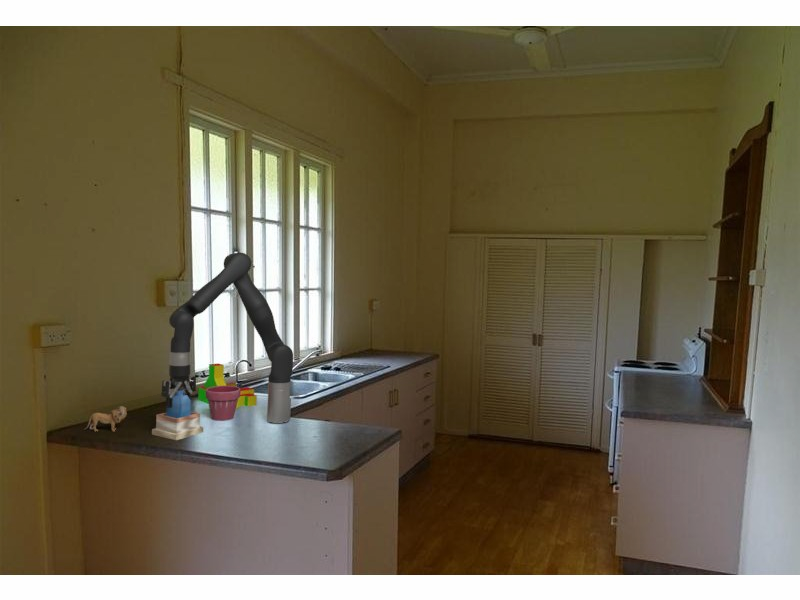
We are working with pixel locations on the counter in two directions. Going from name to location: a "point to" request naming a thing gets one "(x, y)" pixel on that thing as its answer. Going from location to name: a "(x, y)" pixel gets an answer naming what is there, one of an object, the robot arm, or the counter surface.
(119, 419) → the lion figurine
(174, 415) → the perfume bottle
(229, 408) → the plant pot
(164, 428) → the pedestal
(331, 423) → the counter surface
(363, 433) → the counter surface
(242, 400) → the building blocks toy
